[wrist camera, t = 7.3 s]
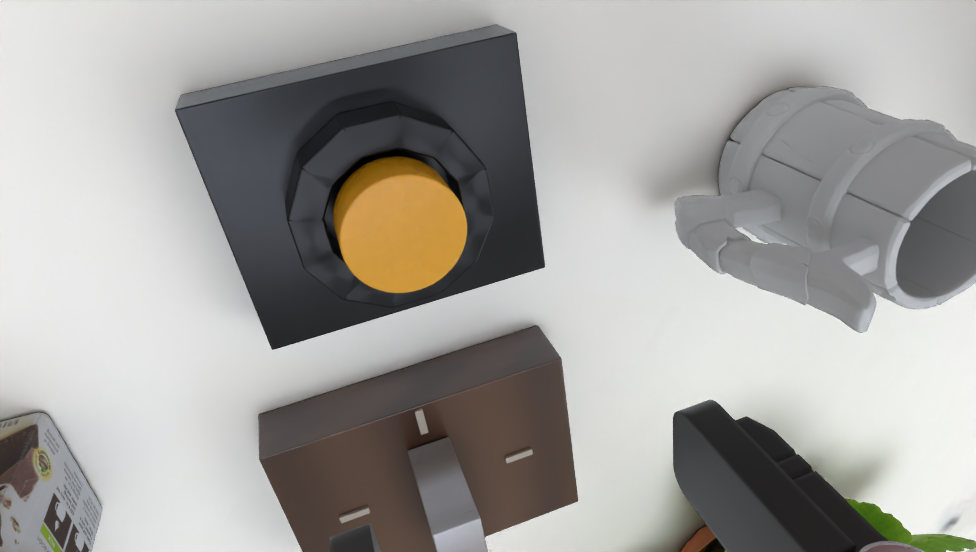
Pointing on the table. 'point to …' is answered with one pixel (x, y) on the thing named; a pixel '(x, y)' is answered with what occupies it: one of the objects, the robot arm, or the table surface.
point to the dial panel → (419, 421)
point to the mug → (839, 206)
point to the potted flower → (707, 548)
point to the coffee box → (43, 491)
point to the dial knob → (447, 498)
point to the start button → (399, 225)
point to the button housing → (348, 146)
